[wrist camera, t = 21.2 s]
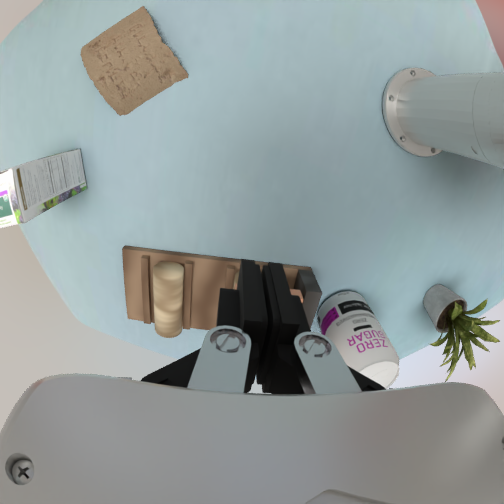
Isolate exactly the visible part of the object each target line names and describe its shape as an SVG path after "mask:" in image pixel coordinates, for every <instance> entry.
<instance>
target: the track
mask: <svg viewBox="0 0 504 504" xmlns="http://www.w3.org/2000/svg"><path fill="white" fill-rule="evenodd" d="M122 252H123V270H124V284H125V296H126V306H127V315H128V319H134V320H140V321H144V323H147V324H151V322H152V323H155V319H154V295H153V267H154V265H155V264H157V263H160V262H164V261H171V262H176V263H179V264H180V265H182V266H183V268H184V278H183V308H182V327H183V329H190V328H196V329H204V330H211V329H212V328H215V327H216V321H217V311H218V301H219V292H220V288H227V289H233V288H234V280H235V274H236V273H237V272H239V270H240V264H241V259H232V258H223V257H215V256H206V255H198V254H189V253H181V252H172V251H164V250H156V249H148V248H139V247H131V246H124V247H123V249H122ZM255 264H259V265H260V270H261V272H262V267H263V265H268V263H267V262H258V261H255ZM282 265H283V268H284V271H285V275H286V278H287V281H288V285H289V288H290V289H295V290H300V291H301V294H302V297H303V302H302V305H303V308H304V311H305V314H306V317H307V320H308V324H309V327H310V328H311V325H312V322H313V319H314V316H315V313H316V310H317V307H318V304H319V301H320V298H321V295H322V291H321V289H320V287H319V285H318V282H317V280H316V278H315V276H314V274H313V271H312V269H311V267H303V266H294V265H285V264H282Z"/></svg>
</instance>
